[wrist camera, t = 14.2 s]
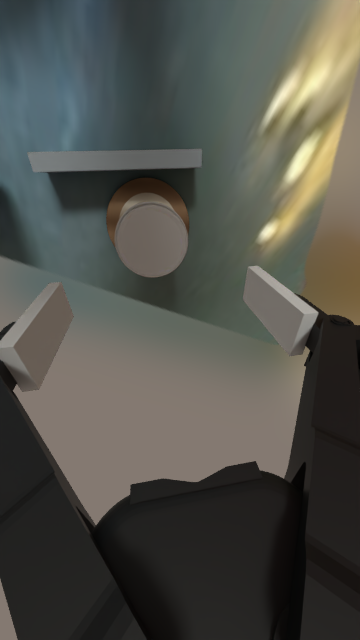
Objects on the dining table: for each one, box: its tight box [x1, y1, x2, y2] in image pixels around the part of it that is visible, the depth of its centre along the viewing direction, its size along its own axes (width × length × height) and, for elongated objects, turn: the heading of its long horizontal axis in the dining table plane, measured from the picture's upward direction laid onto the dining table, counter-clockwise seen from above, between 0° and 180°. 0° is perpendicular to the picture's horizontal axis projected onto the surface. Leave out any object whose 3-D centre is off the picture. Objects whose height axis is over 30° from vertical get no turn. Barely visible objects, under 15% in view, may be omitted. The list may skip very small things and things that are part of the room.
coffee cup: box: [115, 201, 188, 277], centre depth 32 cm, size 9×9×12 cm
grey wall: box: [27, 149, 202, 173], centre depth 30 cm, size 2×22×5 cm, turn 92°
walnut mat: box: [106, 178, 189, 246], centre depth 37 cm, size 14×14×1 cm
